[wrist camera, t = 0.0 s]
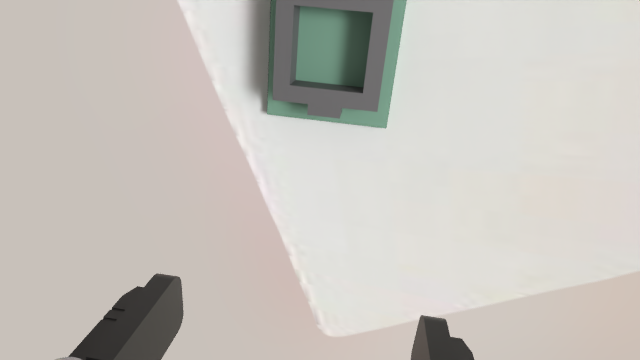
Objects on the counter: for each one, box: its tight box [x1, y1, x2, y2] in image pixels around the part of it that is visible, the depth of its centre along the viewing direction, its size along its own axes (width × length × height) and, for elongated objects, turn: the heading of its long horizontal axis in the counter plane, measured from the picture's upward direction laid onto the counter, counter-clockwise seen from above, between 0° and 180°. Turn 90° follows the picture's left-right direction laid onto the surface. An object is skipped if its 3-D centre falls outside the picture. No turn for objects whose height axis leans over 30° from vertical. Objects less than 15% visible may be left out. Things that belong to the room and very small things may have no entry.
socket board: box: [267, 0, 406, 128], centre depth 36 cm, size 14×12×4 cm
